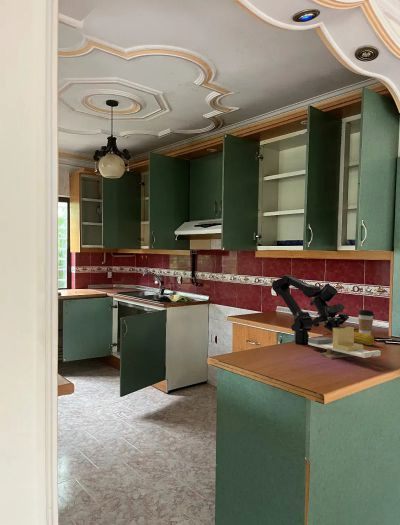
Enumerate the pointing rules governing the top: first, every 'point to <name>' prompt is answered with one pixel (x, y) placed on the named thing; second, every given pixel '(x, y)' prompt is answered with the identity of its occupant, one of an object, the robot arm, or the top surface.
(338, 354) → the beam stand
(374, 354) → the white twin rails
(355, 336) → the food
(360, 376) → the top surface
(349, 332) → the block
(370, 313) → the coffee cup
